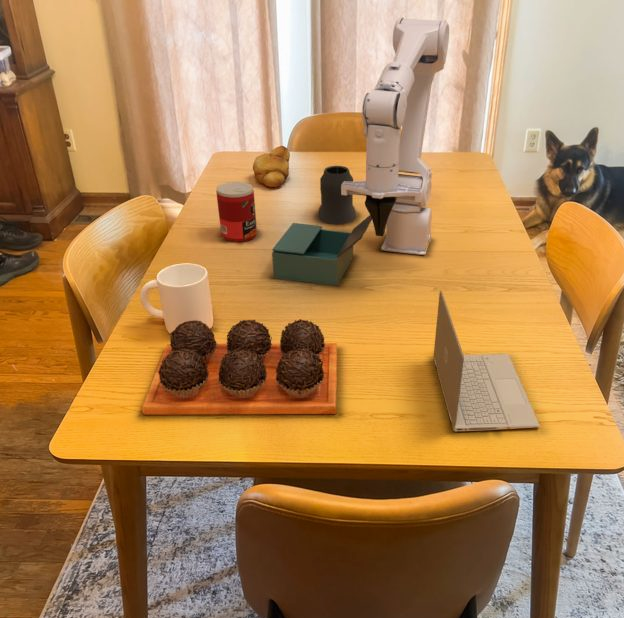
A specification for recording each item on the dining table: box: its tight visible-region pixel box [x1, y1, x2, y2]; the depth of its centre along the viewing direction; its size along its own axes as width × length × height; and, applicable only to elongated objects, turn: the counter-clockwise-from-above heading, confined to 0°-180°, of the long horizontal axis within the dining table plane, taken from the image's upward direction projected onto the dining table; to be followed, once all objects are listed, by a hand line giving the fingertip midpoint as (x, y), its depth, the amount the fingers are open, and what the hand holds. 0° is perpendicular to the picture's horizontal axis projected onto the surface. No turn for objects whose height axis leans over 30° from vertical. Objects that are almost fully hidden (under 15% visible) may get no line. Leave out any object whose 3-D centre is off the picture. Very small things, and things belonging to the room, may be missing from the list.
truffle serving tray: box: [141, 318, 338, 416], centre depth 102 cm, size 28×17×8 cm, turn 91°
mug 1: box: [139, 262, 214, 334], centre depth 115 cm, size 12×8×10 cm
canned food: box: [215, 181, 258, 243], centre depth 146 cm, size 8×8×11 cm
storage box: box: [271, 222, 354, 287], centre depth 135 cm, size 13×13×6 cm
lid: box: [337, 214, 372, 258], centre depth 130 cm, size 6×13×1 cm
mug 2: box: [317, 165, 357, 225], centre depth 156 cm, size 12×9×11 cm
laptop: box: [433, 290, 541, 432], centre depth 99 cm, size 18×12×13 cm
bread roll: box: [252, 145, 291, 188], centre depth 174 cm, size 13×10×8 cm
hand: (380, 234), depth 125 cm, fingers closed
